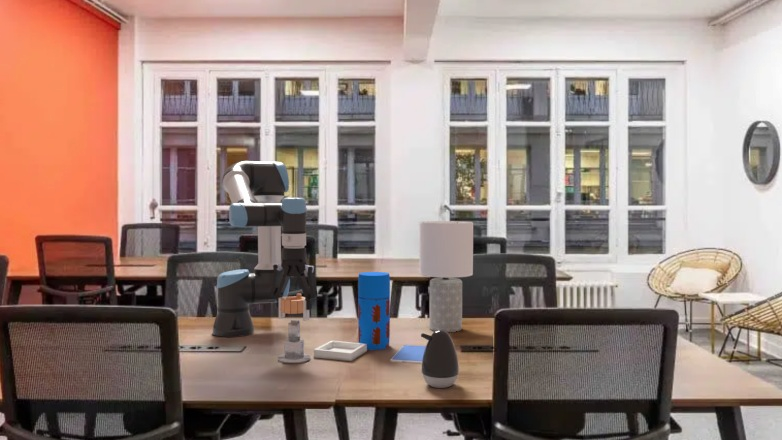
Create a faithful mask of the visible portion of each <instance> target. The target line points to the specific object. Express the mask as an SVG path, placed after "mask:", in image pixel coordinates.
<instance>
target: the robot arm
mask: <svg viewBox="0 0 782 440" xmlns="http://www.w3.org/2000/svg"><path fill="white" fill-rule="evenodd" d="M221 181H222V182H221V183H222V187H223V190H224V191H225V192H226V193H228V196H229V199H230V202H231V203H230V205H229V208H228V219H229V225H231V227H239V228H253V227H255V228H256V227H257V250H258V251H257V253H258V255H257V256H258V257H257V259H258V263H257V265H256V266H255V267H254V269H253V271H254V272H250V271H249V269H245V268H242V269H233V270H229V271H224V272H221V273H219V275H218V276H217V279H216V280H217V282H216V289H217V290H216V291H217V292H216V295H217V296H216V297H217V300H216V301H217V302H216V304H217V307H216V309H217V312H216V316H215V319H214V321H213V322H214V323H213V325H212V335H214V336H216V337H226V338H233V337H234V338H235V337H242V336H243V337H244V336H248V335H251V334H253V333H254V332H255V325H254V322H253V319H252V315H251V313H250V305H255V304H257V305H258V304H269V303H271V304H275V303H276V308H278V319H279V320H281V319H283V318H286V313H282V312H281V298H284V297H289V292H290V286H291V285H290V284H291V278H292V277H294V278H296V279H297V281H298V283H299V285H300V287H301V288H300V289H301V290H302V292H303V297H305V300H303V313H302V315H303V316H302V321H303V322H307V321H309V320H310V310H312V308H313V305H312V304H313V299H315V298H317V297H318V295H319V294H318V289H317V281H316V276H315V271H316V265H308V264H307V262H306V260H307V248H306V247H305V246H307V210H308V209H307V203H306V202H307V201H306V199H305V198H304V197H285V193H287V192H289V190H290V180H289V173H288V170H287V167H286V165H285V163H283V162H281V161H273V160H270V161H267V160H266V161H263V160H260V161H259V160H255V161H254V160H243V161H238V162H237V161H236V163H233V164H231V165H230V166H229V167H228V168H227V169H226V170H225V171H224V172H223V174H222V179H221ZM305 270H306V271H305ZM305 272H306V273H307V277H306V273H305ZM306 278H307V279H306Z"/></svg>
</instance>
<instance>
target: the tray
mask: <svg viewBox="0 0 782 440" xmlns="http://www.w3.org/2000/svg"><path fill="white" fill-rule="evenodd" d="M366 352H368V349H367V344H363V343H359V342H351V341H349V342H348V341H341V340H330V341H328V342H326V343H324V344H321V345H320V346H317V347H315V348H313V358H318V359H328V360H338V361H347V362H352V361H354V360H355V359H357V358H358V357H360V356H362V355H363V354H365V353H366Z"/></svg>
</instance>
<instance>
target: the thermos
mask: <svg viewBox="0 0 782 440" xmlns="http://www.w3.org/2000/svg"><path fill="white" fill-rule="evenodd" d="M357 279H358V280H357V281H358V288H357V289H358V291H357V295H358V296H357V297H358V298H357V301H358V304H357V306H358V307H357V308H358V309H357V311H358V312H357V314H358V315H357V316H358V318H357V320H358V321H357V322H358V323H357V325H358V326H357V329H358V331H357V338H358V343H363V344H367V351H368V350H369V351H377V350H385V349H388V348H389V347H390V339H391V338H390V337H391V336H390V335H391V332H390V331H391V330H390V327H391V324H390V323H391V318H390V317H391V312H390V310H391V309H390V307H391V303H390V302H391V290H390V289H391V288H390V287H391V277H390V273H389V272H383V271H364V272H363V271H362V272H360V273H358V278H357Z"/></svg>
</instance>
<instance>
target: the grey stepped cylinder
mask: <svg viewBox="0 0 782 440" xmlns="http://www.w3.org/2000/svg"><path fill="white" fill-rule="evenodd" d="M287 327H288V338H286V339H285V340H284V353H283V354H280V355H279V356H278V357H277V361H278V362H279V363H282V364H291V365H293V364H295V365H297V364H304V363H306V362H309V361H310V360H311V355H310V354H308V353H305V339H303V338H301V322H300V320H293V319H291V320H290V322H288V326H287Z"/></svg>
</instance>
